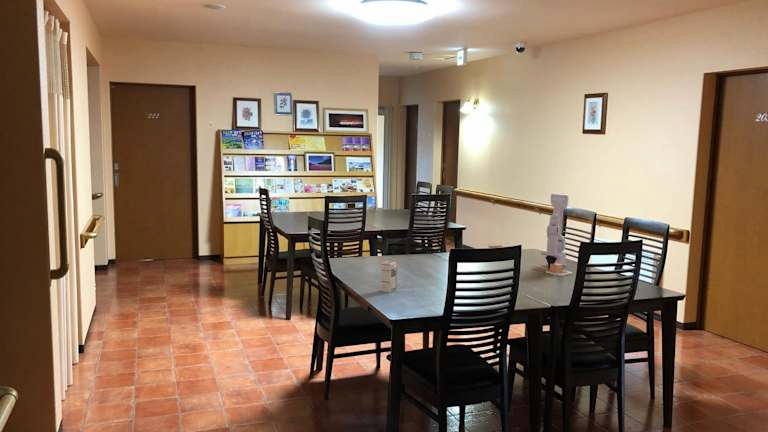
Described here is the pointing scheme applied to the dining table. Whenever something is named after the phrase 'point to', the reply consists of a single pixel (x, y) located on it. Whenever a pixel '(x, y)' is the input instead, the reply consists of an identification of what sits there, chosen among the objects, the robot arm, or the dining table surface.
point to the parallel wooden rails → (542, 268)
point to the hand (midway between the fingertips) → (550, 268)
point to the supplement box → (495, 246)
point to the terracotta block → (556, 268)
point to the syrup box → (388, 276)
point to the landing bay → (560, 274)
